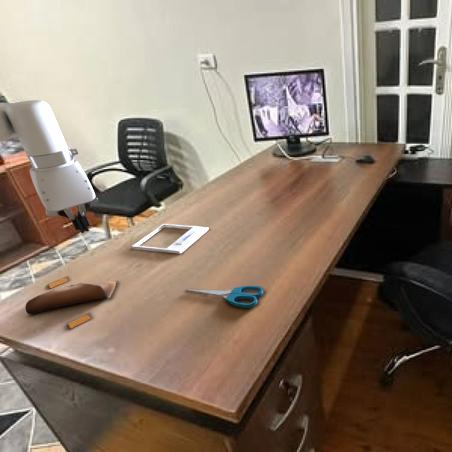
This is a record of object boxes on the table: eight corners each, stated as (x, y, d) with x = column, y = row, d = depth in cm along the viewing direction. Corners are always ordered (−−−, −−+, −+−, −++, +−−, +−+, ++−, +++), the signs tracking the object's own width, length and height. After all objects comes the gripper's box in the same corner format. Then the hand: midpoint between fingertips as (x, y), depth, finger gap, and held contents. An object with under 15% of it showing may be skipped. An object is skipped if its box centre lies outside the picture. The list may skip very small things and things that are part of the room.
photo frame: (179, 250, 104) (131, 245, 109) (180, 253, 104) (132, 248, 110) (207, 226, 116) (163, 223, 121) (208, 229, 117) (164, 226, 122)
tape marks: (70, 328, 80) (70, 328, 80) (48, 285, 96) (48, 284, 96) (90, 319, 82) (89, 318, 82) (65, 278, 98) (65, 277, 98)
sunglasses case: (117, 279, 95) (105, 269, 89) (116, 303, 91) (103, 295, 86) (44, 294, 91) (26, 284, 86) (39, 320, 88) (21, 312, 82)
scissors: (252, 305, 80) (178, 297, 85) (253, 308, 80) (179, 300, 86) (264, 286, 86) (194, 280, 91) (265, 289, 86) (195, 283, 91)
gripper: (84, 148, 85) (112, 215, 94) (7, 165, 76) (45, 237, 85) (93, 153, 80) (121, 223, 89) (11, 172, 71) (51, 248, 80)
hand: (84, 230), depth 87 cm, fingers closed
